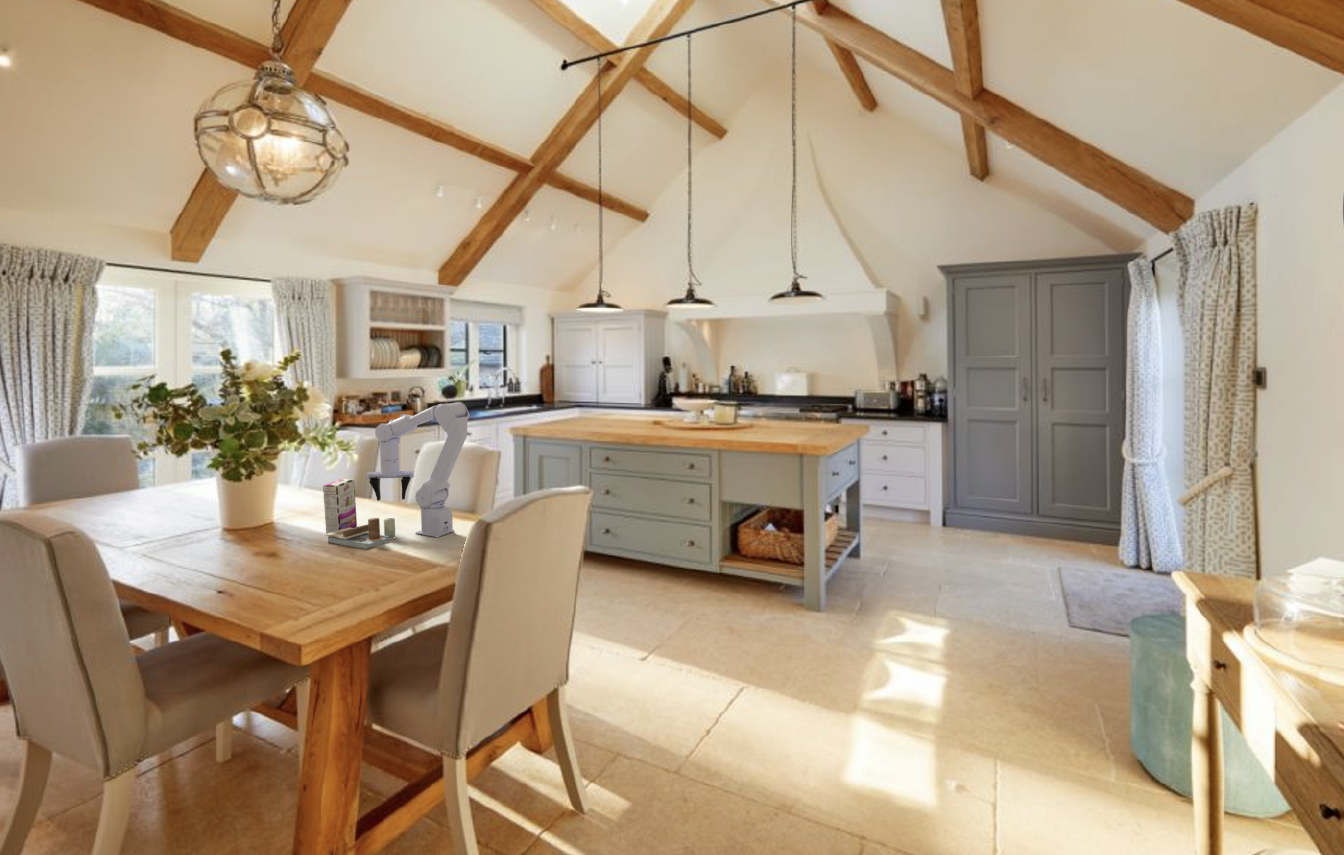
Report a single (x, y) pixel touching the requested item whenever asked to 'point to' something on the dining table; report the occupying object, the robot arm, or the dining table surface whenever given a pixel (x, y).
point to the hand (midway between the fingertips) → (391, 499)
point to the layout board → (360, 541)
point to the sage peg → (389, 527)
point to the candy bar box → (340, 505)
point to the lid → (349, 532)
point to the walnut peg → (374, 528)
